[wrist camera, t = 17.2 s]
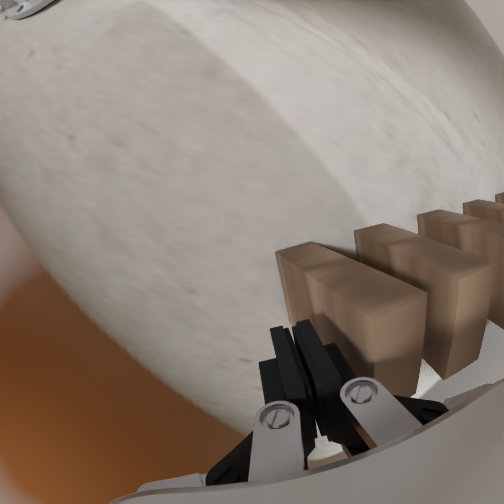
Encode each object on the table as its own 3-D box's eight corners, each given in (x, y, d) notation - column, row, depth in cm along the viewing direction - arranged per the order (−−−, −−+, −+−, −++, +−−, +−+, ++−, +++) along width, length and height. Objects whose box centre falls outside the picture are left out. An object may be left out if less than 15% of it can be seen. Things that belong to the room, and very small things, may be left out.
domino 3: (420, 277, 19) (510, 334, 9) (417, 214, 18) (525, 245, 8) (441, 269, 19) (529, 317, 9) (438, 209, 18) (542, 235, 8)
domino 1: (289, 321, 18) (371, 420, 9) (274, 251, 17) (373, 319, 8) (321, 310, 19) (415, 393, 9) (310, 241, 17) (427, 292, 8)
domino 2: (361, 298, 19) (443, 380, 9) (353, 230, 18) (458, 280, 8) (388, 288, 19) (477, 358, 9) (383, 223, 18) (493, 263, 8)
